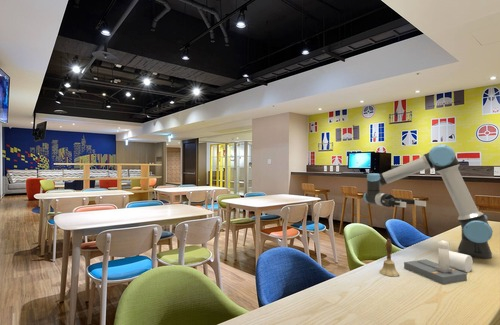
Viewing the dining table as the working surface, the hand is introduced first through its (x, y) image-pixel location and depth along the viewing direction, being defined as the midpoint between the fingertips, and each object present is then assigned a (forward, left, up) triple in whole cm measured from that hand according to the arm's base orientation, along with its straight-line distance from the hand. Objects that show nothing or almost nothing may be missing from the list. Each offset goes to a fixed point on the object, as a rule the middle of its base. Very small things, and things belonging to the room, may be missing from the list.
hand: (415, 204), depth 149 cm
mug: (-12, +14, -30) cm, 35 cm away
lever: (+7, +21, -27) cm, 34 cm away
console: (+7, +16, -30) cm, 35 cm away
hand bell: (+26, +9, -30) cm, 41 cm away
